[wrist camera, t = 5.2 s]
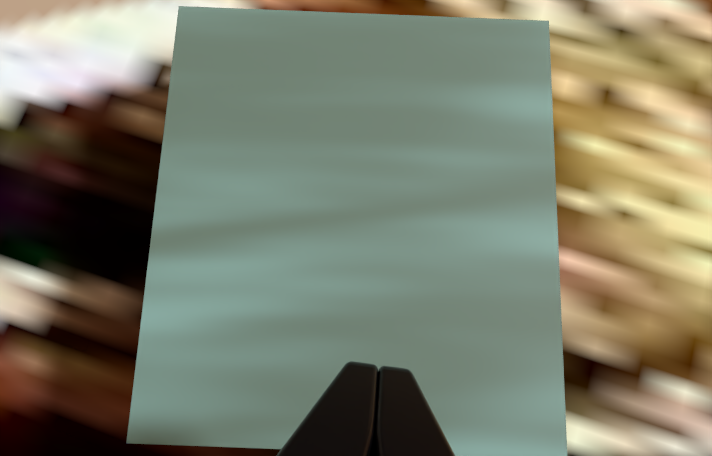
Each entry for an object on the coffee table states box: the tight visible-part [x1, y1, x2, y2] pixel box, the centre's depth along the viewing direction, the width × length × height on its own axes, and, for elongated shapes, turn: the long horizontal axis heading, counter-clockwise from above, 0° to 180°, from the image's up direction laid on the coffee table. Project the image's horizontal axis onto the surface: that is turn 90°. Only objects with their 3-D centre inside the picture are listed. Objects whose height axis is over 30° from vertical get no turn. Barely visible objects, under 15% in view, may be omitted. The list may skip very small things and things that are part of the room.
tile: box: [126, 6, 567, 456], centre depth 15 cm, size 4×8×9 cm
